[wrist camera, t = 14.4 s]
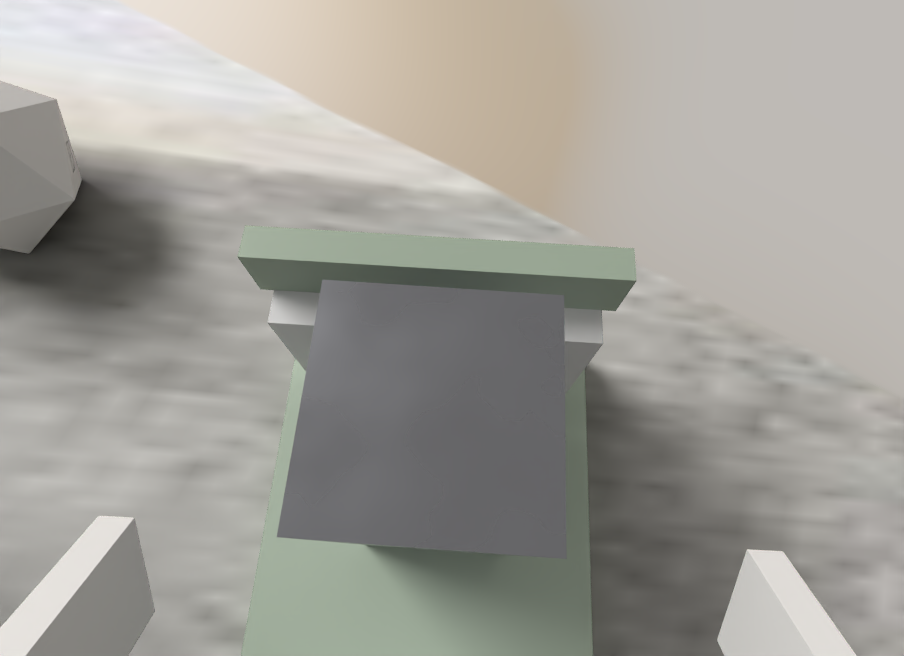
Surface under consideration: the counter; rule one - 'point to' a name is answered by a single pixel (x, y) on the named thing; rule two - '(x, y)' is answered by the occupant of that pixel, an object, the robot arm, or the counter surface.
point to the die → (33, 167)
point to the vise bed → (420, 570)
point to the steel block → (432, 422)
